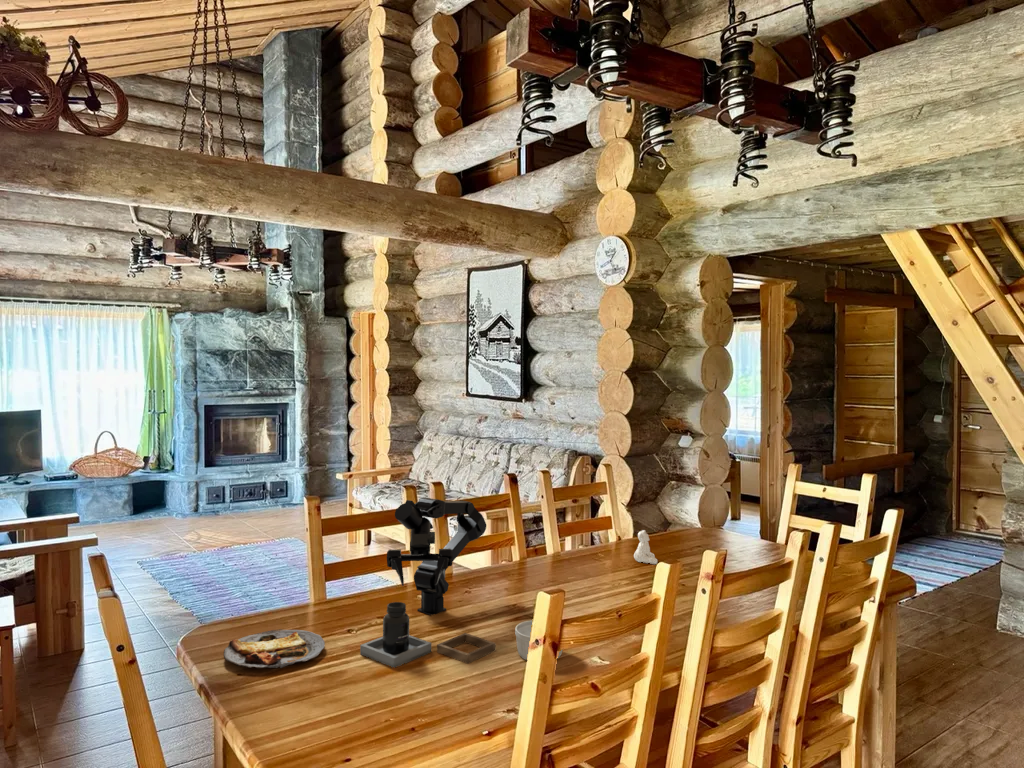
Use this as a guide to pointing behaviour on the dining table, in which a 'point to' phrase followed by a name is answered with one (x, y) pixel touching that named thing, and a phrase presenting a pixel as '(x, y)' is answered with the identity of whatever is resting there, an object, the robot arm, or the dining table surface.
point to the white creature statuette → (644, 549)
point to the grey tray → (376, 653)
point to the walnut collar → (462, 656)
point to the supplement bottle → (396, 629)
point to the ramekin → (524, 638)
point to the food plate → (273, 648)
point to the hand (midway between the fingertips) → (419, 584)
